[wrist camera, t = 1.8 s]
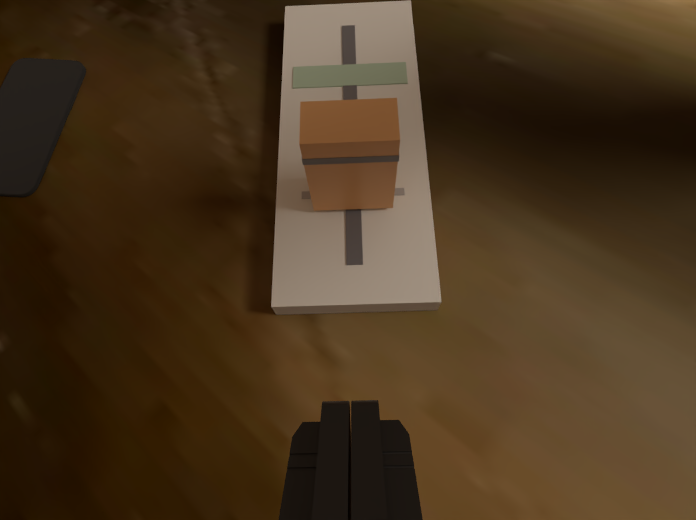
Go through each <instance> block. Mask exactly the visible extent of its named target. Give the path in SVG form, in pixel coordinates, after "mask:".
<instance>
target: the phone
mask: <svg viewBox="0 0 696 520" xmlns="http://www.w3.org/2000/svg"><path fill="white" fill-rule="evenodd" d="M85 74H86V69H85V67H84V66H83V65H82V63H80V62H78V61H71V60H53V59H34V58H23V59H19V60H17V61H16V62H15V63H14V64H13V65H12V66H11V68H10V70H9V72H8V74H7V76H6V78H5V80H4V82H3V84H2V86H1V88H0V196H10V197H26V196H29V195H31V194H32V193H34V192H35V191H36V189H37V188H38V186H39V184H40V181H41V179H42V177H43V174H44V172H45V170H46V167H47V165H48V162H49V160H50V158H51V155H52V153H53V151H54V148H55V146H56V143H57V141H58V139H59V136H60V134H61V131H62V129H63V127H64V124H65V122H66V120H67V117H68V115H69V112H70V110H71V109H72V106H73V104H74V101H75V99H76V96H77V93H78V91H79V89H80V86H81V84H82V81H83V79H84V76H85Z"/></svg>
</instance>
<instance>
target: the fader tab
mask: <svg viewBox="0 0 696 520" xmlns="http://www.w3.org/2000/svg"><path fill="white" fill-rule="evenodd" d="M299 145H300V150H301V154H302V163H303V165H304V168H305V173H306V177H307V182H308V186H309V191H310V195H311V200H312V205H313V209H314V211H320V210H349V209H377V208H393V202H394V193H395V184H396V174H397V165H398V162H399V147H400V131H399V118H398V105H397V98H378V99H354V100H330V101H306V102H300V136H299Z"/></svg>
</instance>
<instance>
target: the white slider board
mask: <svg viewBox="0 0 696 520" xmlns="http://www.w3.org/2000/svg"><path fill="white" fill-rule="evenodd" d="M378 98H397V105H398V118H399V131H400V147H399V162H398V165H397V174H396V184H395V193H394V202H393V208H377V209H349V210H320V211H314V209H313V205H312V200H311V195H310V191H309V186H308V182H307V177H306V173H305V168H304V165H303V163H302V154H301V150H300V145H299V136H300V102H306V101H330V100H354V99H378ZM440 304H441V293H440V283H439V274H438V264H437V254H436V244H435V234H434V225H433V215H432V205H431V195H430V185H429V176H428V166H427V156H426V146H425V136H424V126H423V117H422V107H421V97H420V87H419V77H418V68H417V58H416V48H415V38H414V28H413V19H412V9H411V1H391V2H370V3H348V4H327V5H306V6H285V25H284V46H283V67H282V88H281V109H280V131H279V152H278V173H277V194H276V215H275V237H274V258H273V279H272V300H271V307H272V309H273V311H274V312H275V314H276V315H285V314H319V313H354V312H389V311H423V310H438V308H439V306H440Z"/></svg>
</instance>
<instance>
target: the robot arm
mask: <svg viewBox="0 0 696 520" xmlns="http://www.w3.org/2000/svg"><path fill="white" fill-rule="evenodd" d="M279 520H422V513H421V507H420V501H419V494H418V488H417V482H416V475H415V469H414V462H413V456H412V450H411V443H410V437H409V434H408V432H407V431H406V429H405V428H404V427H403V425H402V424H401V422H400V421H399V420H380V417H379V404H378V400H367V401H352V402H351V429H350V405H349V401H328V402H322V410H321V421H320V422H302V424H301V425H300V427H299V428H298V430H297V431H296V432H295V434H294V435H293V437H292V443H291V449H290V457H289V461H288V467H287V473H286V479H285V485H284V491H283V497H282V503H281V509H280V515H279Z"/></svg>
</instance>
